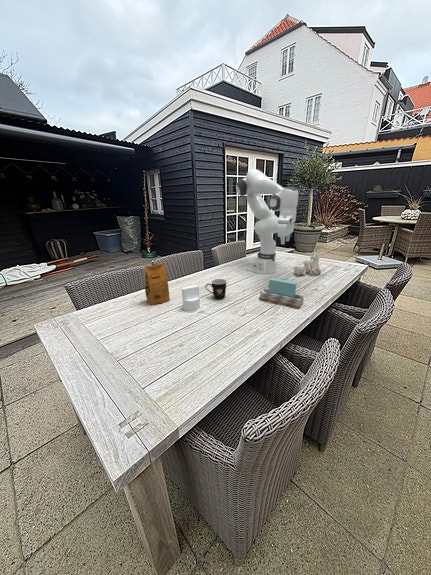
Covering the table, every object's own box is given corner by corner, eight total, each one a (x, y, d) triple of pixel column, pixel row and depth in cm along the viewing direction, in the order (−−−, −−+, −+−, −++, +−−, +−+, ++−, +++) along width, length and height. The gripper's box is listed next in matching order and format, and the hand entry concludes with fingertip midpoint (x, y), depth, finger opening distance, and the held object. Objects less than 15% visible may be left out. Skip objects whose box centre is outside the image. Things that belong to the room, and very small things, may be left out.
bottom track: (258, 300, 129) (259, 292, 127) (265, 293, 136) (265, 286, 135) (298, 309, 118) (299, 301, 116) (303, 301, 125) (304, 294, 124)
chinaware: (303, 268, 184) (303, 248, 179) (325, 269, 174) (326, 248, 169) (291, 278, 164) (291, 255, 158) (315, 280, 154) (316, 256, 148)
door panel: (268, 296, 129) (269, 279, 125) (270, 294, 131) (271, 278, 127) (293, 301, 122) (295, 284, 118) (294, 299, 124) (296, 282, 120)
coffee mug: (228, 295, 135) (228, 280, 131) (223, 301, 128) (223, 285, 124) (211, 292, 140) (210, 277, 136) (205, 298, 133) (204, 282, 129)
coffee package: (145, 300, 132) (139, 263, 124) (165, 295, 138) (161, 260, 130) (150, 306, 124) (144, 268, 116) (171, 301, 130) (167, 264, 122)
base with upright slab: (186, 313, 117) (185, 291, 112) (181, 306, 124) (179, 285, 120) (202, 308, 121) (201, 288, 116) (196, 302, 128) (194, 282, 123)
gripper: (287, 216, 138) (284, 238, 143) (276, 219, 122) (274, 245, 127) (297, 216, 135) (295, 239, 140) (288, 220, 119) (285, 246, 124)
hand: (285, 242), depth 134 cm, fingers open, 8 cm apart
